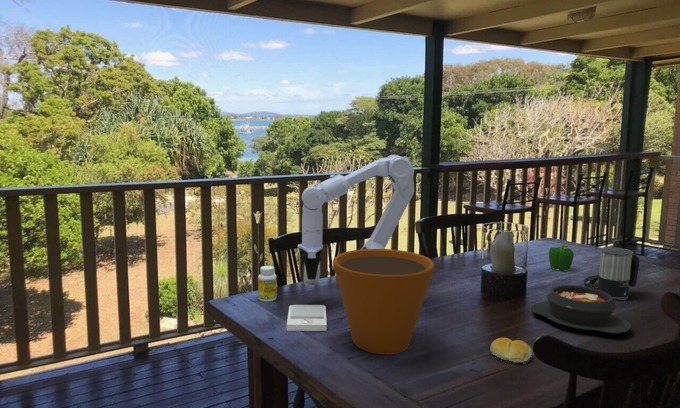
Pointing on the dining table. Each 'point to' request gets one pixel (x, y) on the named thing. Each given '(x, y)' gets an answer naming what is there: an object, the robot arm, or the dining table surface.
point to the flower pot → (382, 296)
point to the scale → (306, 318)
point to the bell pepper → (561, 257)
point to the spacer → (311, 282)
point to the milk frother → (615, 271)
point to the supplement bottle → (267, 284)
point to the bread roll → (511, 350)
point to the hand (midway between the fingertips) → (311, 276)
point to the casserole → (581, 309)
